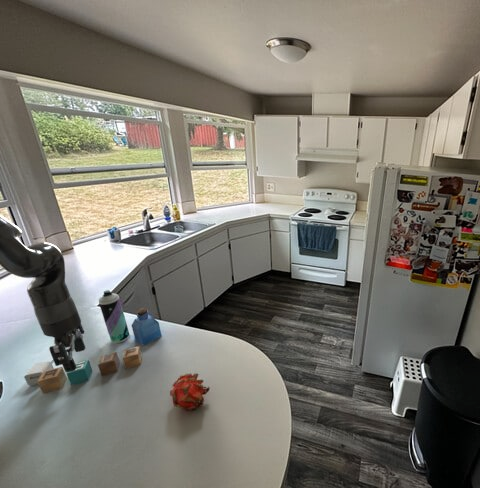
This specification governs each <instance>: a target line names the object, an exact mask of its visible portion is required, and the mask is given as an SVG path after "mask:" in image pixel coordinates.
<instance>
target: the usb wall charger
mask: <svg viewBox="0 0 480 488" xmlns="http://www.w3.org/2000/svg"><path fill="white" fill-rule="evenodd" d="M53 364H54V360H53V359H52V360H51V361H43V362H38V363H35V364H34V365H33V366H31V368H30V369H29V370H28V372H26V374H25V375H24V376H23V377H24V380H25V381H26V384H27V385H28V386H35V385H39V384H38V380H39V378H40V377H41V375H42V373H43V372H44V371H47V370H51V369H55V368H54V366H53Z"/></svg>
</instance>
